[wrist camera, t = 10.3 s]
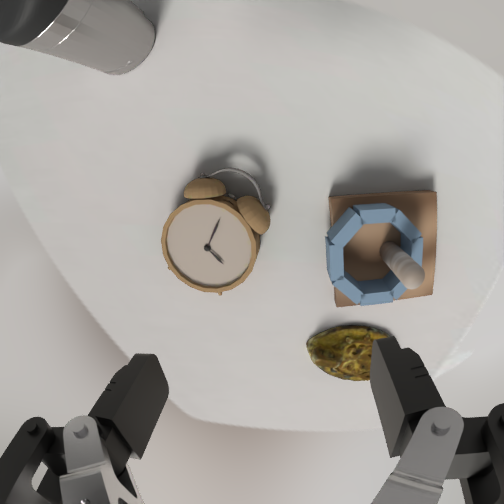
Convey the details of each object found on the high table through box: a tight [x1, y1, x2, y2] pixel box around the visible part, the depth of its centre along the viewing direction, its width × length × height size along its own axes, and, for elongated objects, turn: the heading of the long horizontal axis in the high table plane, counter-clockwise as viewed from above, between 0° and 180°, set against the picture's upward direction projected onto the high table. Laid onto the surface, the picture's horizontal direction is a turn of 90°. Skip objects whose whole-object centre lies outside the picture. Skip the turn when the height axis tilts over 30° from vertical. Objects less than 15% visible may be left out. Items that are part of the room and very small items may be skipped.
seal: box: [306, 325, 390, 381], centre depth 37 cm, size 9×5×15 cm
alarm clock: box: [161, 168, 270, 295], centre depth 34 cm, size 11×5×15 cm
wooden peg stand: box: [329, 190, 437, 307], centre depth 29 cm, size 13×13×10 cm
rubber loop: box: [325, 203, 423, 306], centre depth 31 cm, size 10×10×4 cm
